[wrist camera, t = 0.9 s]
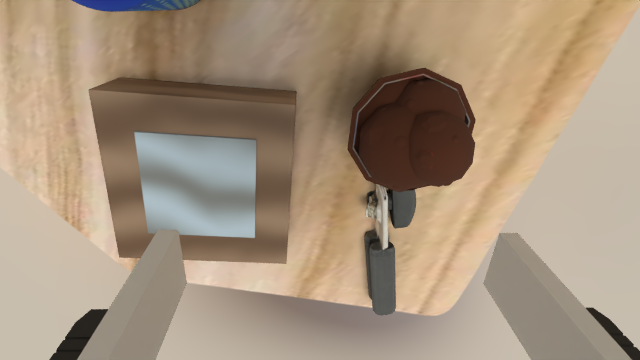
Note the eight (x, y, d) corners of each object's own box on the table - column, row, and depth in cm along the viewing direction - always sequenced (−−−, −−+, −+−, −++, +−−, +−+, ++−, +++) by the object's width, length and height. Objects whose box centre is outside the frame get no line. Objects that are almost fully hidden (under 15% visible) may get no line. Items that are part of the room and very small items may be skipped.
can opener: (361, 171, 43) (368, 190, 38) (414, 168, 43) (427, 187, 39) (358, 294, 51) (364, 322, 47) (403, 291, 52) (413, 319, 47)
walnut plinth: (119, 77, 37) (86, 90, 31) (296, 91, 38) (295, 106, 33) (141, 226, 44) (118, 259, 39) (287, 233, 46) (286, 265, 40)
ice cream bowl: (409, 33, 36) (474, 49, 23) (450, 124, 41) (525, 183, 27) (319, 89, 38) (330, 133, 25) (367, 170, 43) (399, 246, 29)
